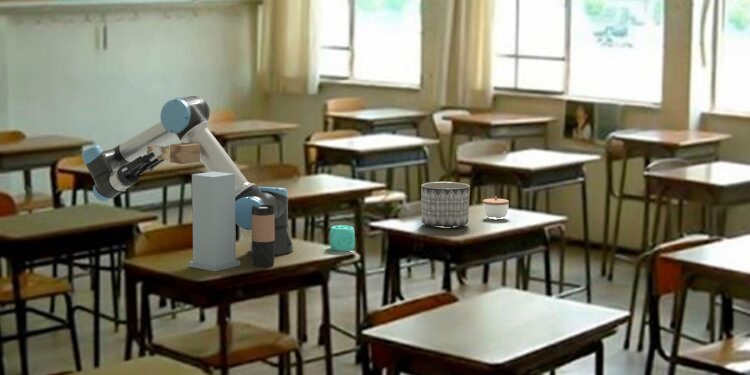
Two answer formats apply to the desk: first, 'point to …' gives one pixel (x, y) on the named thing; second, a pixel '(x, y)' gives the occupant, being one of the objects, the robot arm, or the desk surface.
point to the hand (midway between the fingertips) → (164, 149)
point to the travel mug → (263, 236)
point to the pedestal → (214, 221)
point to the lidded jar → (495, 207)
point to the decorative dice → (342, 238)
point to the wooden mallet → (179, 153)
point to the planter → (445, 203)
